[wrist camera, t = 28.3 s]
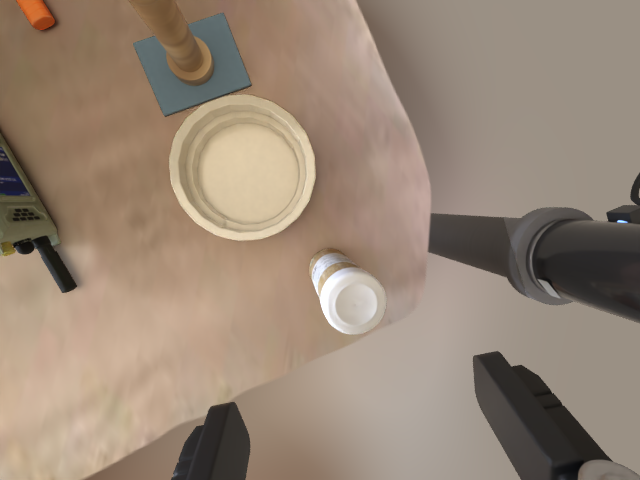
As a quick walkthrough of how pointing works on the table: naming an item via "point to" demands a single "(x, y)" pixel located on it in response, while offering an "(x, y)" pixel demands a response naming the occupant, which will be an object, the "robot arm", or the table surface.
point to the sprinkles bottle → (347, 292)
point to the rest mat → (184, 96)
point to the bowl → (242, 167)
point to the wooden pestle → (177, 40)
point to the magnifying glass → (36, 13)
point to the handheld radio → (27, 220)
